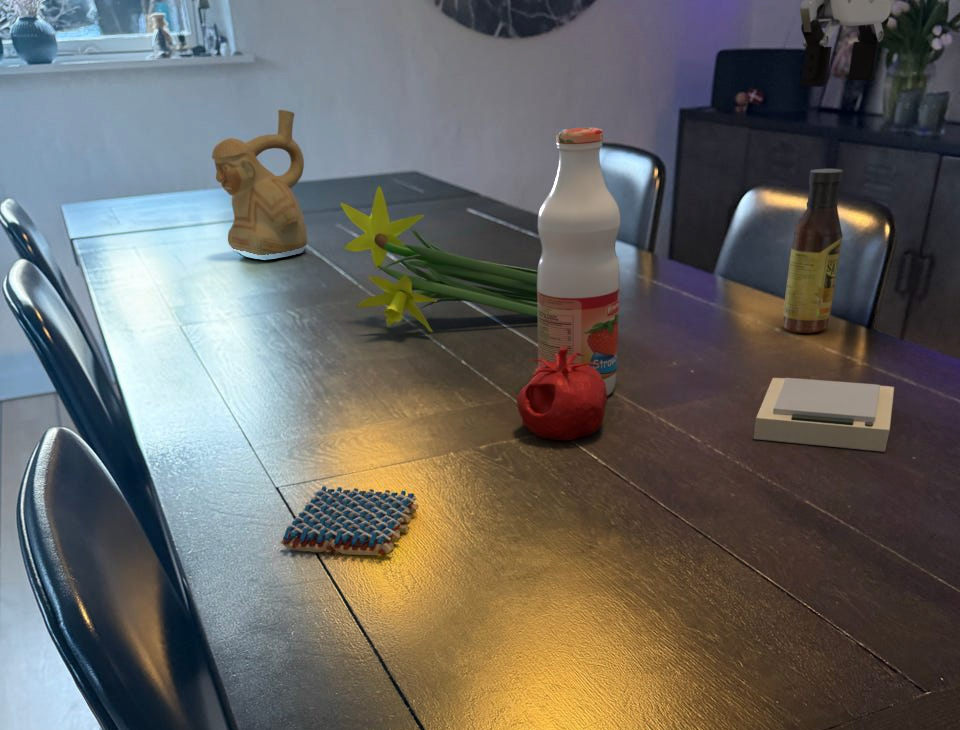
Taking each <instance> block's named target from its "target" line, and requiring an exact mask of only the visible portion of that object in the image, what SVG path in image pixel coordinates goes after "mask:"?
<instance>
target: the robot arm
mask: <svg viewBox="0 0 960 730" xmlns="http://www.w3.org/2000/svg"><path fill="white" fill-rule="evenodd" d="M895 2H896V0H803V1H801V3H800V6H799V12H800V19H801V25H800V26H801V27H800V29H801V30H800V31H801V33H802V35H803V40H802V45H803V47H804V57H803V64H802V70H801V78H800V85H801V86H802V87H808V88H809V87H811V88H813V87H814V88H822V87H825V86H826V85H827V83H828V75H829V69H830V63H831V56H832V48H833V46H829V44H830V42H831V40H832V38H833V36H834V35H835V33H836V32H837V29H838V27H839V26H843V27H854V31H855V35H856V38H857V41H853V43H852V50H851V56H850V63H849V68H848V70H849V71H848V75H847V77H848V80H850V81H871V80H873V78H874V77H875V71H876V66H877V65H876V64H877V59H878V52H879V47H880V42H881V41H882V40H883V37H884V30H885V28H886V27H887V26H888V24H889V20H890V14H891V12H892V9H893V7H894V5H895Z"/></svg>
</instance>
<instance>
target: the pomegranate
mask: <svg viewBox="0 0 960 730" xmlns="http://www.w3.org/2000/svg"><path fill="white" fill-rule="evenodd" d="M558 352H559V354H555V355H553V356H555V357H556V362H552V361H551V362H548V361H546V360H544V359H538V358H537V359H532V360H530V362H538V361H540V362H542V363H544V364H540V365H538V364H537V366H536V367H535V370H534V372H533V373H532V374H531V379H530V380H529V382H528V383H527V384H526V385H525V386H523V387H522V388H521V389H520V391H518V393H517V396H516V406H517V409H518V413H519V415H520V417H521V420H522V423H523V424H524V426H525V427H526V428H527V429H528V430H529V431H531V433H533V434H534V435H536V436H538V437H540V438H543V439H548V440H554V441H572V440H576V439H579V438H582V437H583V438H584V437H586V436H590V435H593V434H594V433H595V432H596V431H598V430H599V428H600V427H601V426H602V425H603V421H604V417H605V411H606V404H607V399H608V396H607V391H606V386H605V383H604V381H603V379H602V377H601V375H600V373H599V372H598V371H597V370H596V369H595V368H593V367H591V366H589V365H587V364H590V365H596V366H598V365H600V364H595V363H592V362H587V363H582V364H578V363H574V362H573V360H574V359H575V357H576V356H584V355H581V354H579V353H577V352H576V353H574V354H573V355H571V356H570V357H569V358H567V359H566V354H567V352H568V348H567V347H566V346H563V347H561V348H559V351H558Z"/></svg>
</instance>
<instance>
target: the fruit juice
mask: <svg viewBox="0 0 960 730" xmlns="http://www.w3.org/2000/svg"><path fill="white" fill-rule="evenodd" d="M603 141H604V132H603V129H602V128H599V127H573V128H566V129H565V128H563V129H560V130H557V131H556V137H555V143H556V149H557V150H558V152H559V157H558V165H557V170H556V175H555V179H554V182H553V185H552V188H551V190H550V191H549V194H548V195H547V197H546V198H545V199H544V200H543V202H542V204H541V206H540V208H539V211H538V216H537V232H538V236H539V240H540V245H541V255H540V257H539V261H538V265H537V270H538V272H537V274H536V275H537V302H538V317H537V359H544V360H546V361H548V362H551V361H552V362H556V357H555V356H553V355H555V354H559V352H558V351H559V348H561V347H563V346H566V347H567V348H568V352H567V354H566V359H567V358H569V357H570V356H571V355H573V354H574V353H576V352H577V353H579V354H581V355H584V356H576V357H575V359H574V360H573V362H574V363H578V364H582V363H587V362H592V363H595V364H600V365H598V366H596V365H590V364H587V365H589V366H591V367H593V368H595V369H596V370H597V371H598V372H599V373H600V375H601V377H602V379H603V381H604V383H605V386H606V391H607V397H608V396H610V395H611V394H612V393H613V392H614V390H615V389H616V384H617V373H618V372H617V371H618V370H617V369H618V341H619V340H618V339H619V313H620V311H619V310H620V309H619V308H620V307H619V306H620V285H621V284H620V283H621V275H620V274H621V271H620V261H619V257H618V255H617V252H616V243H617V239H618V235H619V232H620V228H621V211H620V208H619V204H618V203H617V200H616V199H615V198H614V196H613V195H612V193H611V192H610V190H609V189H608V187H607V185H606V182H605V178H604V174H603V170H602V166H601V160H600V152H601V151H600V150H601V148H602V147H603ZM537 363H538V364H537V366H538V365H540V364H544V363H542V362H540V361H537Z"/></svg>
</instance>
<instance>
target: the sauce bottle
mask: <svg viewBox="0 0 960 730" xmlns="http://www.w3.org/2000/svg"><path fill="white" fill-rule="evenodd" d="M843 175H844V170H843V169H839V168H817V169H811V170H810V172H809V177H808V186H809V188H808V190H809V191H808V195H807V202H806V209H805V211H804V213H802V215H801V217H800V218H799V219H798V220H797V223H796V225H795V228H794V232H793V240H792V247H791V250H790V255H789V256H790V257H789V264H788V265H789V266H788V272H787V273H788V274H787V280H786V286H785V287H786V288H785V296H784V303H783V310H782V311H783V312H782V315H783V319H782V327H783V328H784V330H786V331H788V332H792V333H798V334H813V333H819V332H823V331H824V330H826V329H827V327H828V324H829V321H830V317H831V313H832V312H831V311H832V307H833V300H834V293H835V288H836V281H837V275H838V267H839V262H840V255H841V254H840V253H841V249H842V241H843V233H842V232H843V231H842V226H841V221H840V215H839V210H838V205H839V203H838V200H839V194H840V186H841V184H842V182H843V178H844V177H843Z"/></svg>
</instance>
